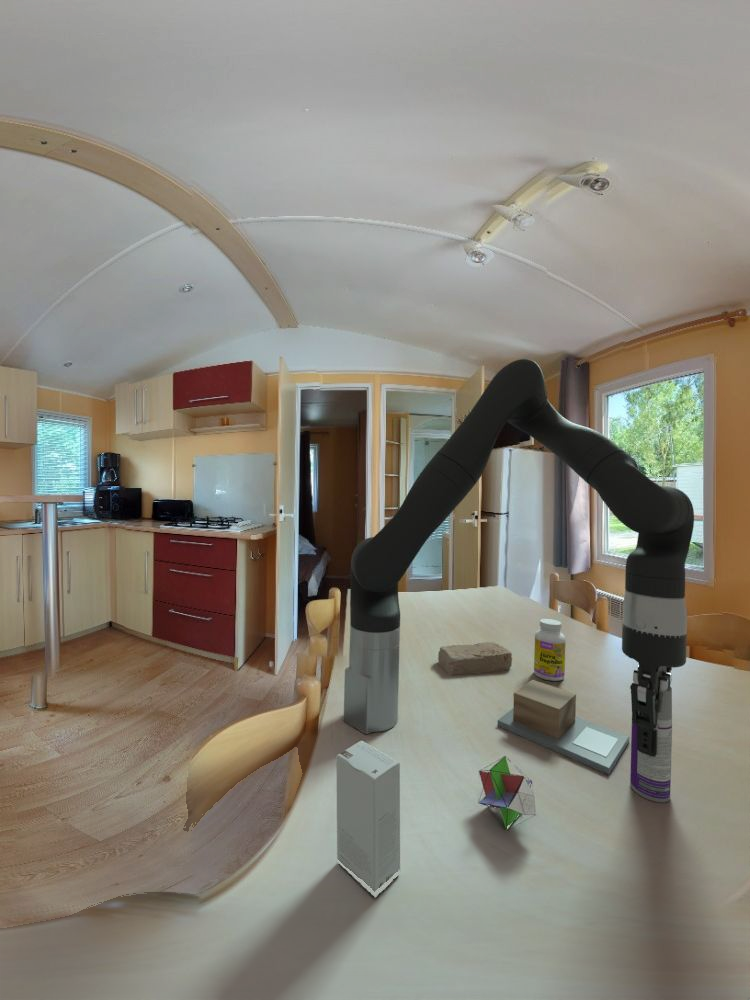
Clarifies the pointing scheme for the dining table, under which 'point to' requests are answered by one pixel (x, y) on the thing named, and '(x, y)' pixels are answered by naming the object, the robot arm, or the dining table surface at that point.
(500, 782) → the geometric puzzle
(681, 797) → the dining table surface
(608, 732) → the slate board
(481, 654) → the brick
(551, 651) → the supplement bottle
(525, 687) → the walnut plinth
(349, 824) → the skincare box
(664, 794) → the container
